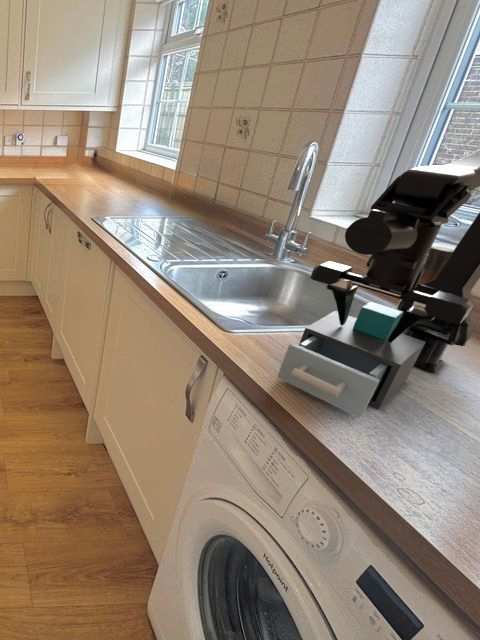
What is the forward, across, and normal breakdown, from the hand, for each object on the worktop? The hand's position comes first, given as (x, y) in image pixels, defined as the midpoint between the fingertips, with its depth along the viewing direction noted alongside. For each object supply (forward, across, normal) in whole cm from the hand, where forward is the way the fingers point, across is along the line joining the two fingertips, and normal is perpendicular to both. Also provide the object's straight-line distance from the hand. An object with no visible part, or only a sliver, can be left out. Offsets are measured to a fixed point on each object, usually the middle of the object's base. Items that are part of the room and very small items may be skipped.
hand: (365, 332), depth 72 cm
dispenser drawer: (+8, 0, +10) cm, 13 cm away
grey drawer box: (+9, 0, 0) cm, 9 cm away
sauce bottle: (+9, -1, -31) cm, 32 cm away
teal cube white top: (0, 0, -3) cm, 3 cm away
